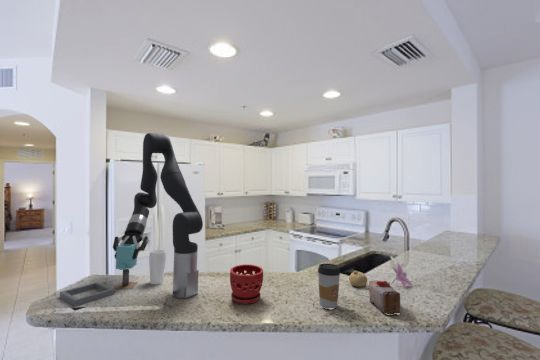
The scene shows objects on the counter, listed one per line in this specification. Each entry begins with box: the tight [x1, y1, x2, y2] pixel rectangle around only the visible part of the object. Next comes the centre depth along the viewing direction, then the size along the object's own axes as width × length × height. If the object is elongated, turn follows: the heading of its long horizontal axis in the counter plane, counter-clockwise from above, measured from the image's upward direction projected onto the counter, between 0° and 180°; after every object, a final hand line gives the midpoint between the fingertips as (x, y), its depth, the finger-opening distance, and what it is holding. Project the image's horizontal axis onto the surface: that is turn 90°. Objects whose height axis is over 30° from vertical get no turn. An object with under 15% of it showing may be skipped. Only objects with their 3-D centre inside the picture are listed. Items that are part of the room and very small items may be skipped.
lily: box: [391, 262, 414, 290], centre depth 123 cm, size 12×12×10 cm
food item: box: [368, 279, 401, 314], centre depth 100 cm, size 14×8×10 cm, turn 5°
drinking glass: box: [148, 249, 167, 285], centre depth 117 cm, size 7×7×15 cm
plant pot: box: [229, 264, 264, 305], centre depth 104 cm, size 13×13×12 cm
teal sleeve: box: [115, 244, 138, 271], centre depth 111 cm, size 6×8×9 cm
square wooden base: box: [112, 269, 139, 290], centre depth 112 cm, size 8×8×8 cm
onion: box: [348, 270, 368, 288], centre depth 122 cm, size 8×8×7 cm
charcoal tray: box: [59, 281, 115, 312], centre depth 100 cm, size 13×13×4 cm
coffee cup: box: [317, 263, 341, 309], centre depth 100 cm, size 8×8×15 cm
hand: (125, 258), depth 110 cm, fingers closed on teal sleeve, 6 cm apart
